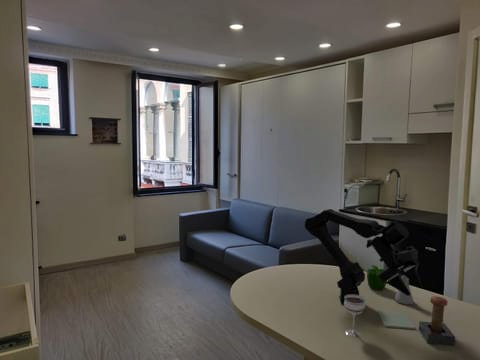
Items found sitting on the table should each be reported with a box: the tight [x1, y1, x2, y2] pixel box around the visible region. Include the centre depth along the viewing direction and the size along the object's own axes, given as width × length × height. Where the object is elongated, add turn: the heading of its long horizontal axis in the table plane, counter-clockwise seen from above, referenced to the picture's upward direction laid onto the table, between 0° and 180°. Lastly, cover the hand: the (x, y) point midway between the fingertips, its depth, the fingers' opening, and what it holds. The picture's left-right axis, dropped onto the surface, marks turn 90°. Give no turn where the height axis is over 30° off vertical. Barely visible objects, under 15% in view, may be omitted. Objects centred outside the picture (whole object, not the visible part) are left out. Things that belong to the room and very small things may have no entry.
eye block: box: [418, 320, 456, 346], centre depth 117 cm, size 8×8×3 cm
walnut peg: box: [429, 295, 448, 333], centre depth 117 cm, size 5×5×13 cm
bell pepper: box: [366, 264, 388, 291], centre depth 154 cm, size 8×8×10 cm
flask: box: [394, 275, 414, 305], centre depth 142 cm, size 7×7×10 cm
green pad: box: [377, 310, 416, 330], centre depth 128 cm, size 10×10×1 cm
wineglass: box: [343, 294, 366, 338], centre depth 119 cm, size 7×7×12 cm
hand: (415, 291), depth 121 cm, fingers open, 9 cm apart
